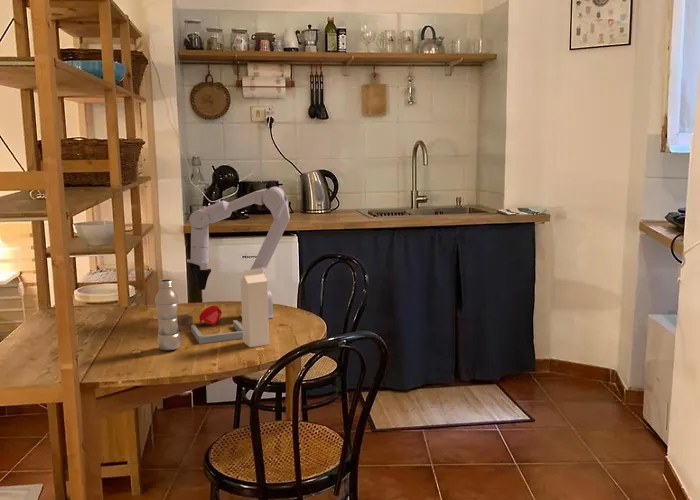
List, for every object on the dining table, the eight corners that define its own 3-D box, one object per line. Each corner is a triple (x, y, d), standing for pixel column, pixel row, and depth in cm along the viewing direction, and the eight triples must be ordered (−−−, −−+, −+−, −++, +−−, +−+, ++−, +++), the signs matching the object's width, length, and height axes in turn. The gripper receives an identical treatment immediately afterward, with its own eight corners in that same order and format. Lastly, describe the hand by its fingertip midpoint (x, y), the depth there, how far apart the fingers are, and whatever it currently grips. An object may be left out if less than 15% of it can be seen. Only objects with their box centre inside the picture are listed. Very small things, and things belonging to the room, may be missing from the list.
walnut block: (187, 326, 220) (187, 313, 219) (193, 328, 217) (192, 316, 216) (175, 328, 217) (175, 316, 217) (181, 331, 214) (180, 318, 214)
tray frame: (237, 326, 219) (236, 320, 218) (248, 337, 206) (247, 331, 206) (191, 331, 213) (191, 325, 213) (199, 344, 201) (199, 337, 200)
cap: (223, 310, 225) (207, 302, 224) (225, 309, 219) (208, 300, 219) (211, 332, 223) (195, 323, 222) (212, 331, 217) (195, 322, 217)
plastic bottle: (160, 354, 192) (156, 284, 188) (155, 347, 198) (151, 279, 194) (183, 350, 195) (179, 281, 191) (177, 344, 200) (174, 277, 197)
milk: (242, 342, 202) (239, 268, 198) (262, 339, 205) (259, 266, 201) (250, 347, 197) (246, 272, 193) (270, 344, 199) (267, 269, 196)
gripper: (183, 242, 230) (183, 282, 232) (191, 250, 217) (190, 292, 219) (204, 242, 232) (204, 281, 235) (213, 250, 219) (213, 291, 222)
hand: (199, 286), depth 227 cm, fingers open, 7 cm apart
